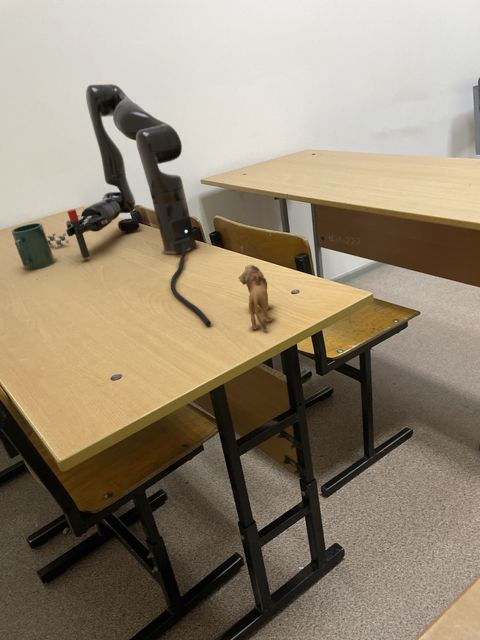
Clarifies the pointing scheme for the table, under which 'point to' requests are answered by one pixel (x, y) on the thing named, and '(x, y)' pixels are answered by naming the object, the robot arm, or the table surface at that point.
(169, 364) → the table surface
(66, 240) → the molecular model
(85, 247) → the marker
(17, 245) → the mug
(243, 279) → the brown animal figure
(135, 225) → the tape measure
